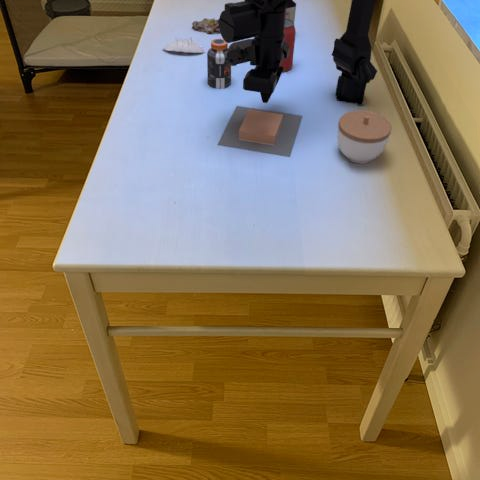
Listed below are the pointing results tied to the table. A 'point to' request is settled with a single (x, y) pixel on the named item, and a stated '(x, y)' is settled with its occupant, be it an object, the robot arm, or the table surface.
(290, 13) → the skincare box
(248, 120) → the tile
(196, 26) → the mineral rock
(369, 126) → the lidded jar
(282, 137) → the mat
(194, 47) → the pincushion
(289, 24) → the beer can
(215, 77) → the pill bottle
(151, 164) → the table surface
